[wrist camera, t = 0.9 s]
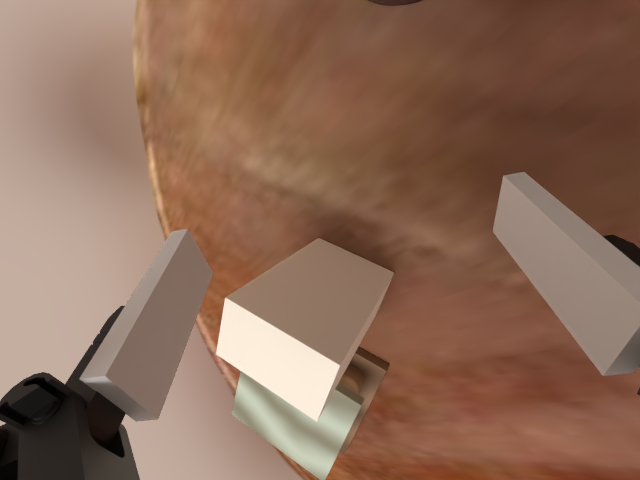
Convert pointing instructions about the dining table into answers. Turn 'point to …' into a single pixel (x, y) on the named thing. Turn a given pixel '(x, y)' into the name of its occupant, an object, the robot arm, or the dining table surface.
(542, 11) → the dining table surface
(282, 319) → the cream rectangular block
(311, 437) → the peg shelf
